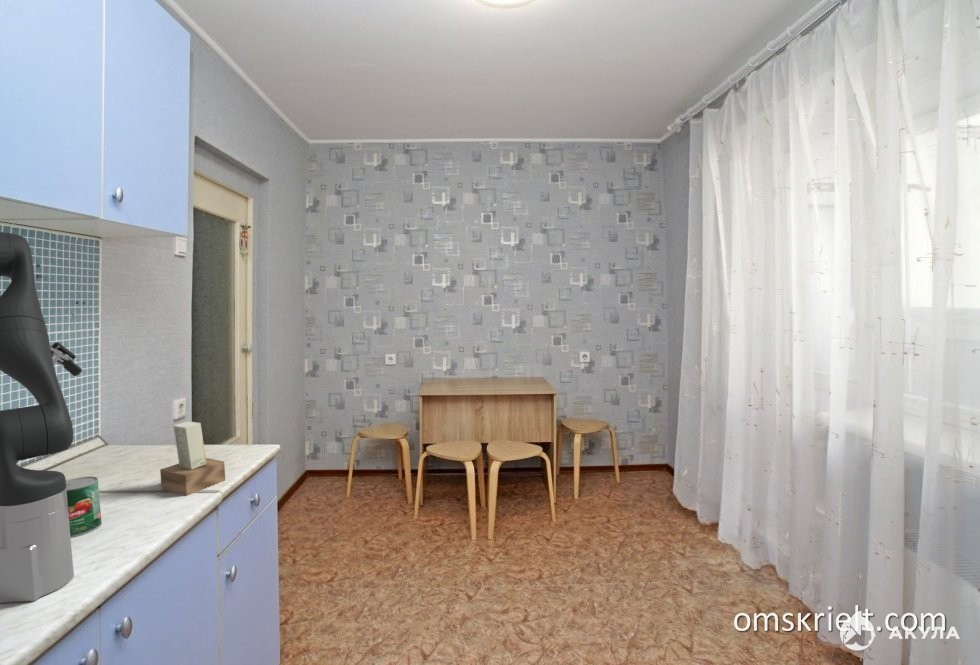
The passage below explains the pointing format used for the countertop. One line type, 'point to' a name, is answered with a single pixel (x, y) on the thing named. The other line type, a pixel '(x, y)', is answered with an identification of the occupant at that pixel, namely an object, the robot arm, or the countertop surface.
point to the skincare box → (190, 445)
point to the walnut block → (192, 477)
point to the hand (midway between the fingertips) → (65, 376)
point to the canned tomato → (83, 505)
